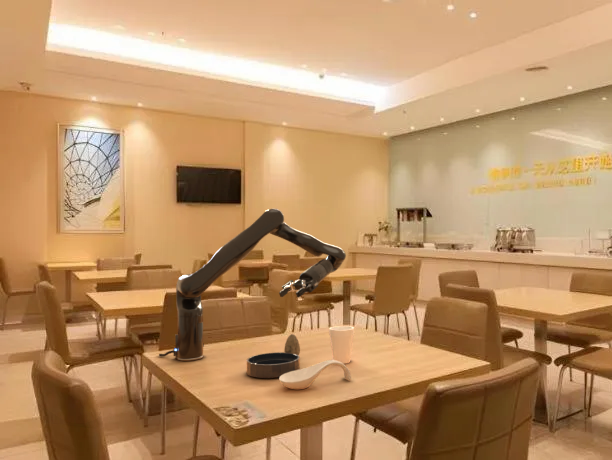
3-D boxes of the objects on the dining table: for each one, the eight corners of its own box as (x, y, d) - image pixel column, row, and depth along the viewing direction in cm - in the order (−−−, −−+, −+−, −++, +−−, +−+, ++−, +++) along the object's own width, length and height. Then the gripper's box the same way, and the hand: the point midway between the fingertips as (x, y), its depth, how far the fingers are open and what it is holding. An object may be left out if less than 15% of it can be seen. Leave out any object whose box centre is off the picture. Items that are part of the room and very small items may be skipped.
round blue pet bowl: (236, 377, 183) (236, 363, 183) (263, 364, 201) (264, 351, 201) (284, 381, 179) (284, 366, 179) (308, 367, 196) (308, 354, 196)
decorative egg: (299, 361, 205) (299, 335, 205) (283, 361, 204) (283, 336, 204) (300, 357, 211) (300, 332, 211) (285, 358, 210) (285, 333, 210)
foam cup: (324, 361, 205) (324, 328, 204) (343, 357, 211) (343, 325, 211) (340, 366, 198) (340, 331, 198) (358, 361, 205) (358, 328, 205)
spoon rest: (284, 394, 164) (284, 371, 164) (274, 385, 174) (274, 363, 174) (355, 383, 176) (355, 362, 176) (342, 375, 186) (342, 354, 186)
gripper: (297, 268, 221) (272, 286, 208) (324, 267, 214) (299, 286, 201) (302, 283, 224) (277, 303, 210) (329, 284, 217) (305, 304, 204)
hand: (288, 295), depth 206 cm, fingers open, 8 cm apart
